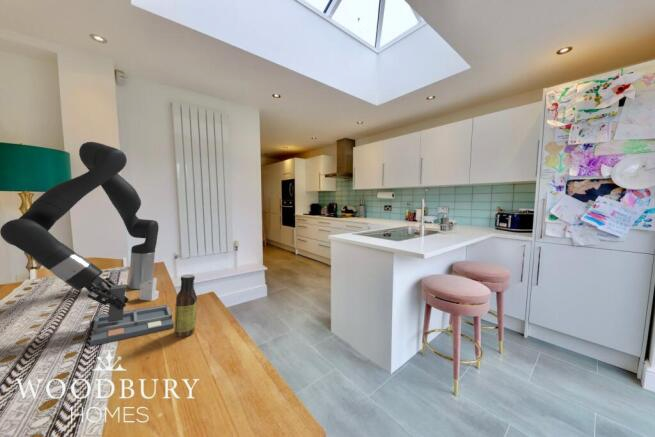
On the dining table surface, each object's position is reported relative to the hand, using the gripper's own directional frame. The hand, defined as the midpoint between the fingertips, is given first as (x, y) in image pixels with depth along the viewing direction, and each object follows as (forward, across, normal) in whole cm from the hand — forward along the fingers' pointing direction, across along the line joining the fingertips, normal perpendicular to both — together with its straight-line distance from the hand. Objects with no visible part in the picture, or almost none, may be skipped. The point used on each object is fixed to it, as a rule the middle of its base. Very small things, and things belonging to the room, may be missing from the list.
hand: (124, 304), depth 79 cm
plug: (+2, 0, +5) cm, 5 cm away
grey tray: (+8, +1, +3) cm, 8 cm away
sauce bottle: (+18, -11, -7) cm, 22 cm away
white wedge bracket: (+9, +24, +2) cm, 26 cm away
